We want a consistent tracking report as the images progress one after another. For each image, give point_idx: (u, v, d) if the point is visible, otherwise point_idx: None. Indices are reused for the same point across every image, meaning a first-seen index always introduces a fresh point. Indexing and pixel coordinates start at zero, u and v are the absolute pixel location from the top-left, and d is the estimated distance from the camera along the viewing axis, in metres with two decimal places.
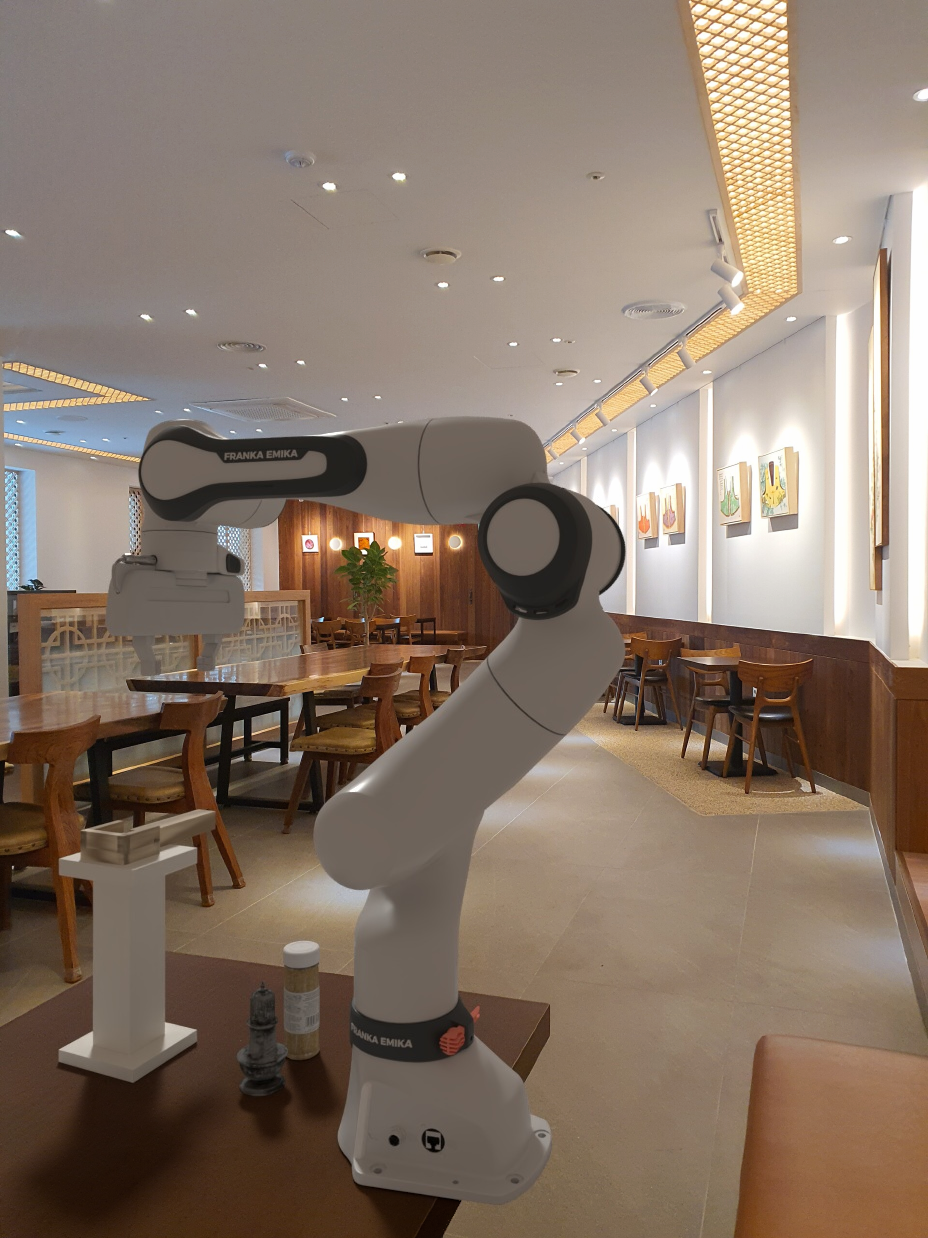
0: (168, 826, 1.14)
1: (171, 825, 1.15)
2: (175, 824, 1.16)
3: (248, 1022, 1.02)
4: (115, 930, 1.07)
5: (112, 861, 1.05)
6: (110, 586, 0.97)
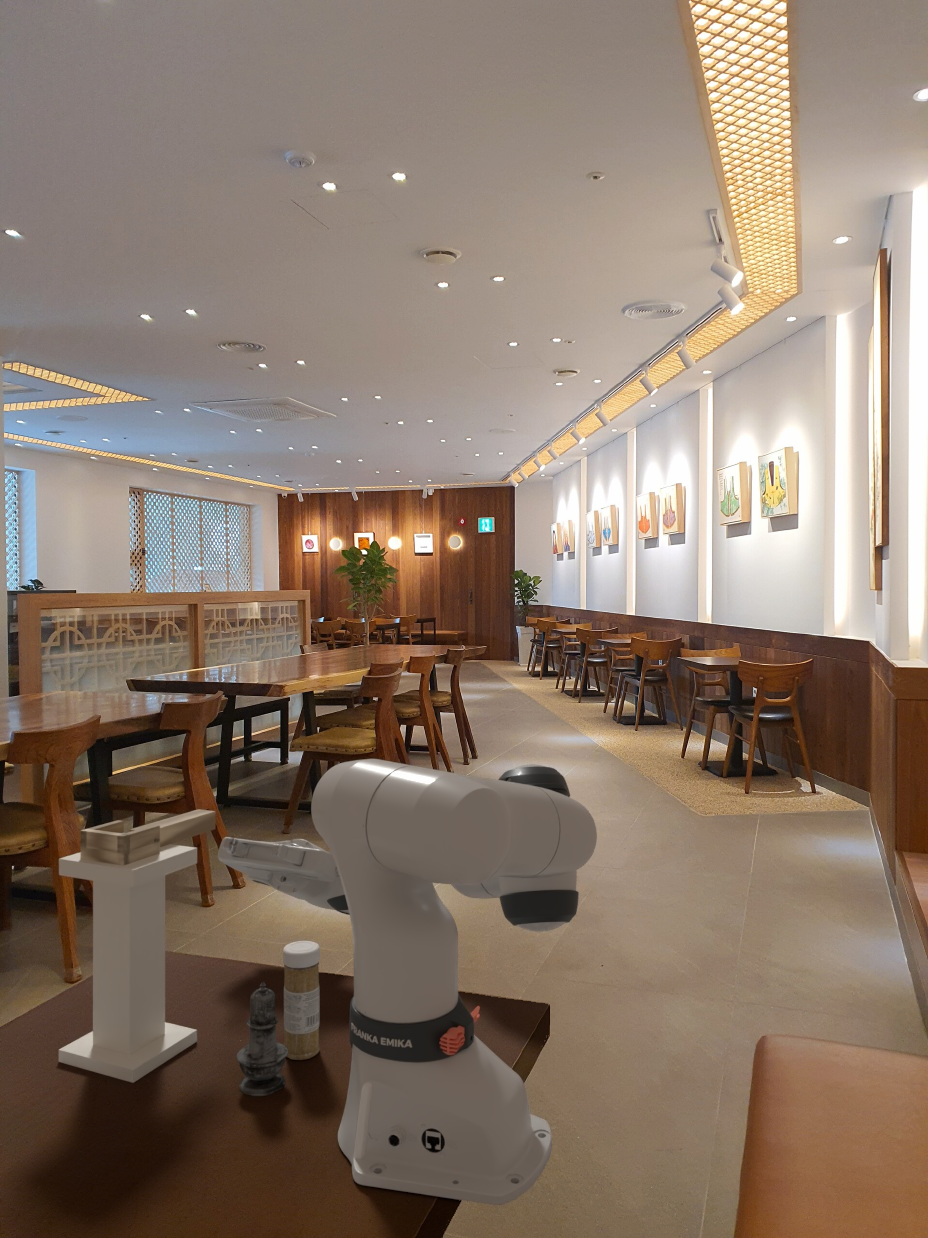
0: (168, 826, 1.14)
1: (171, 825, 1.15)
2: (175, 824, 1.16)
3: (248, 1022, 1.02)
4: (115, 930, 1.07)
5: (112, 861, 1.05)
6: None
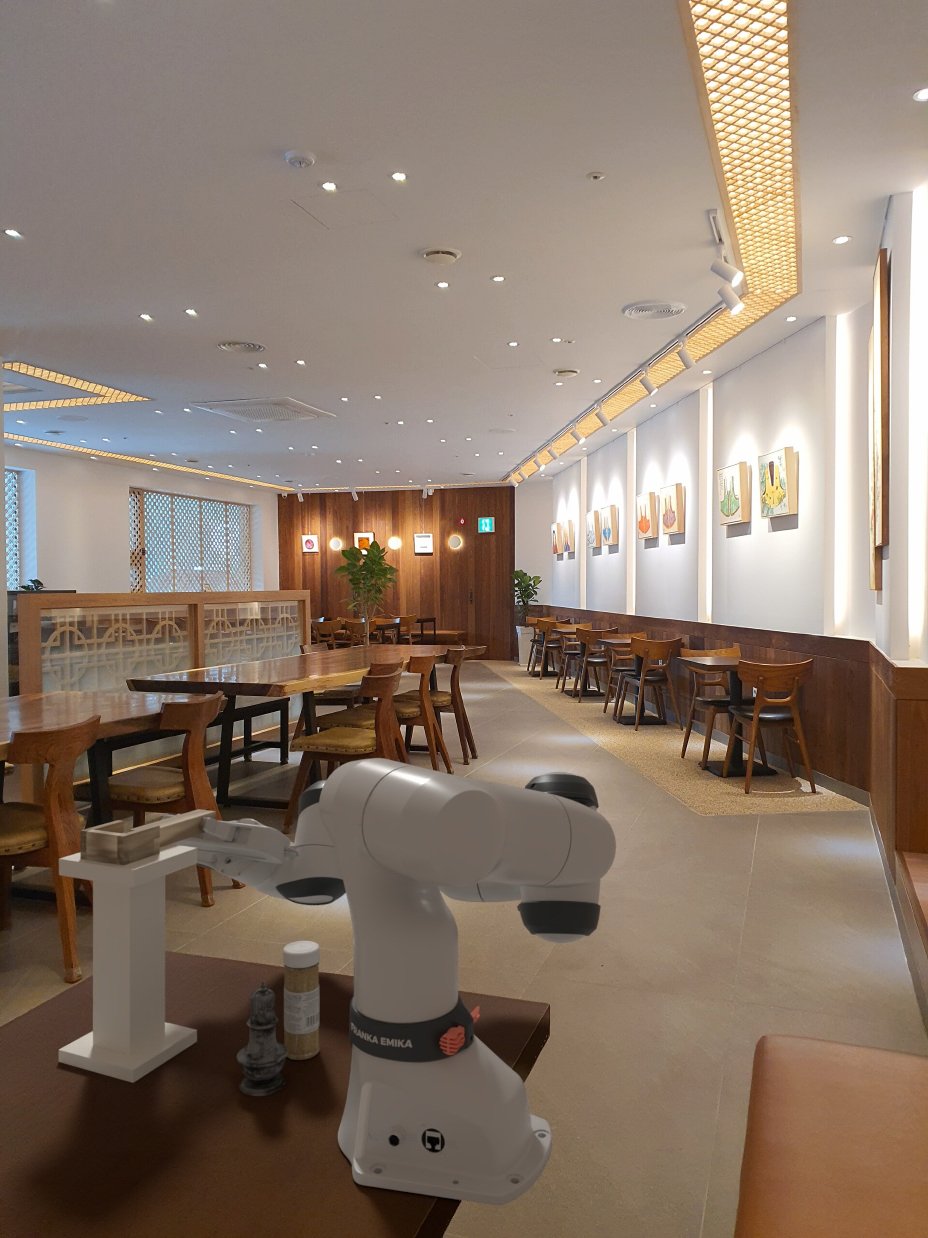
0: (168, 826, 1.14)
1: (171, 825, 1.15)
2: (175, 824, 1.16)
3: (248, 1022, 1.02)
4: (115, 930, 1.07)
5: (112, 861, 1.05)
6: (288, 841, 1.25)
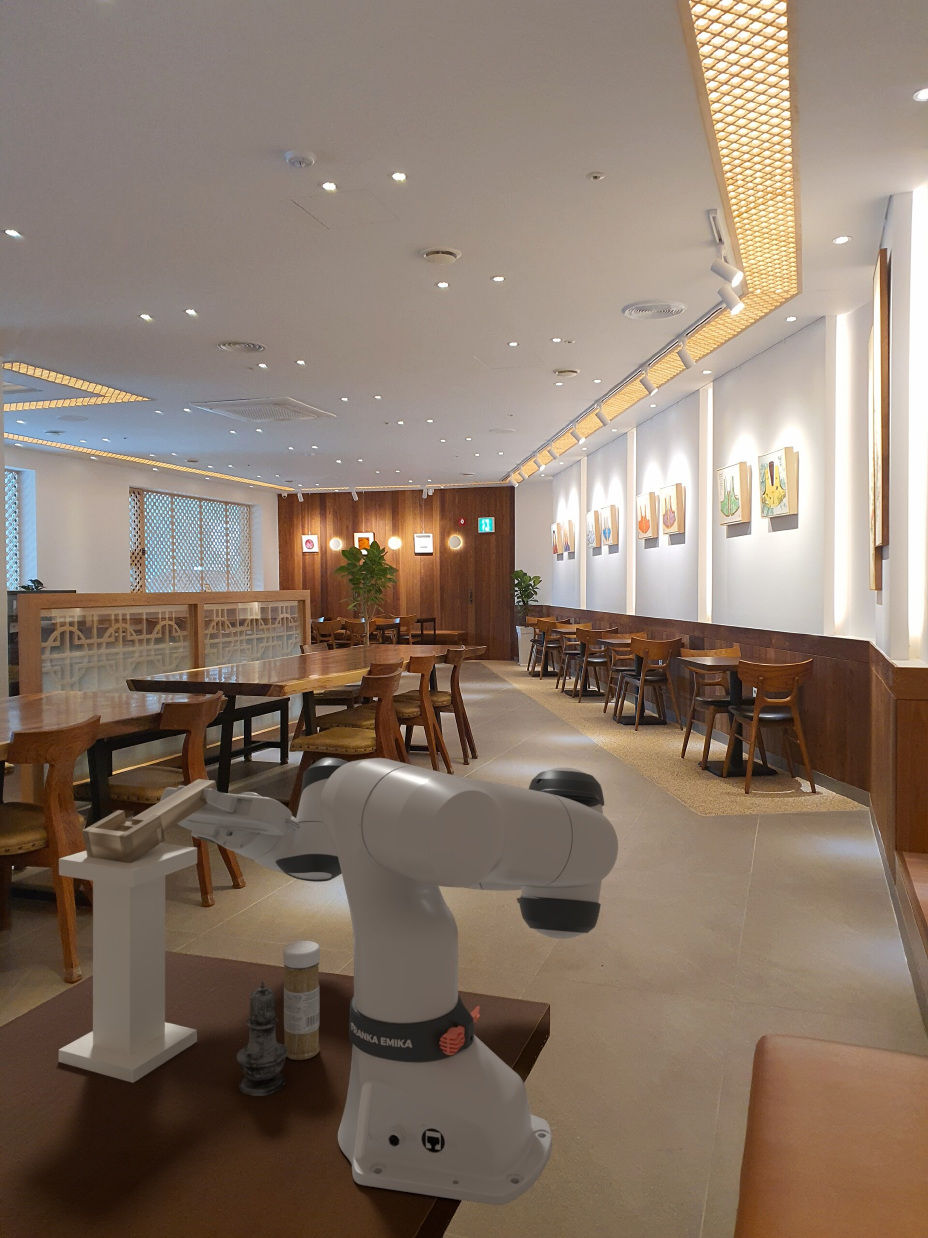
0: (169, 809, 1.15)
1: (172, 807, 1.15)
2: (176, 805, 1.16)
3: (248, 1022, 1.02)
4: (115, 930, 1.07)
5: (118, 859, 1.06)
6: (290, 813, 1.26)
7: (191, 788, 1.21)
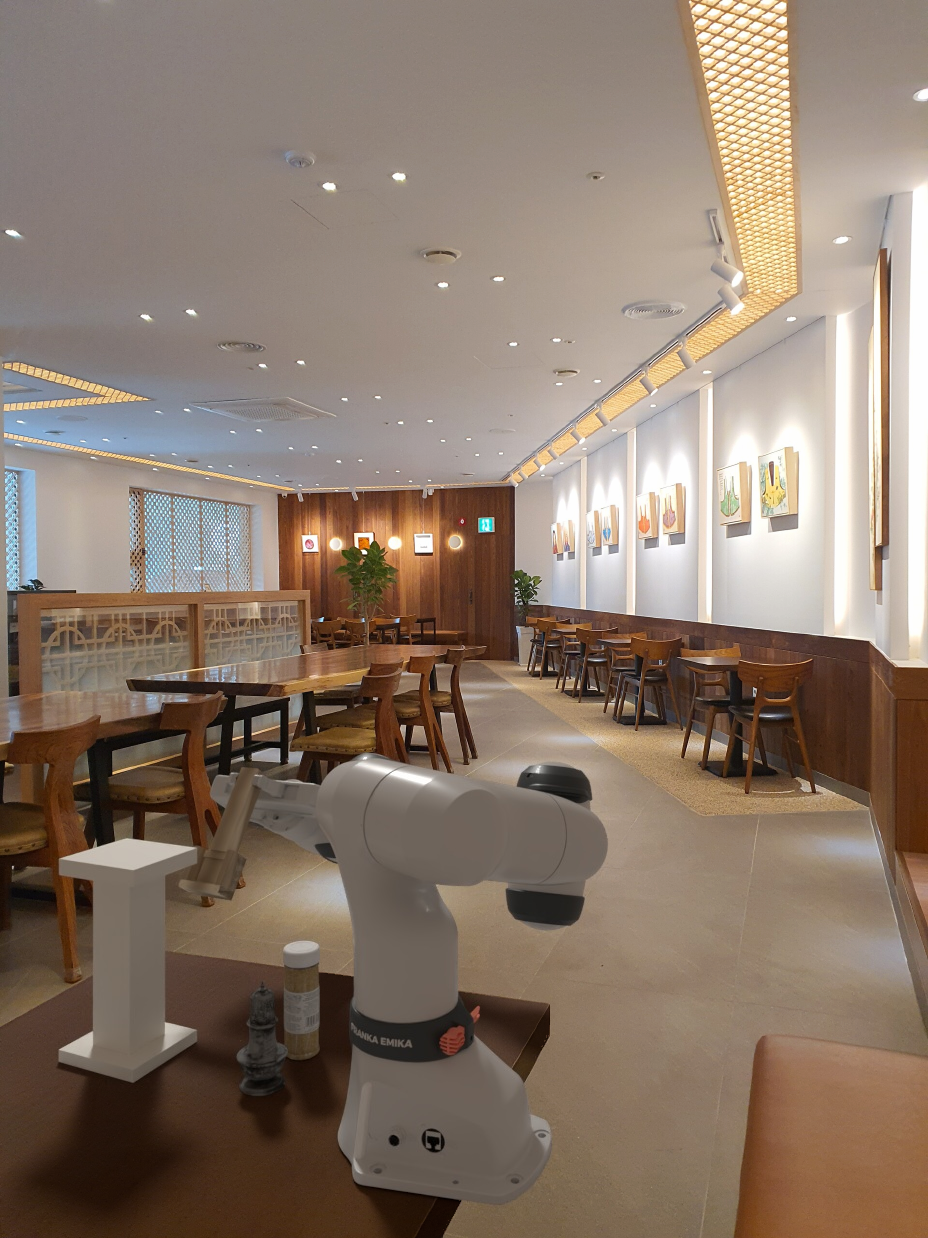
0: (235, 827, 1.27)
1: (237, 823, 1.27)
2: (239, 818, 1.28)
3: (248, 1022, 1.02)
4: (115, 930, 1.07)
5: (220, 898, 1.24)
6: None
7: (241, 786, 1.31)
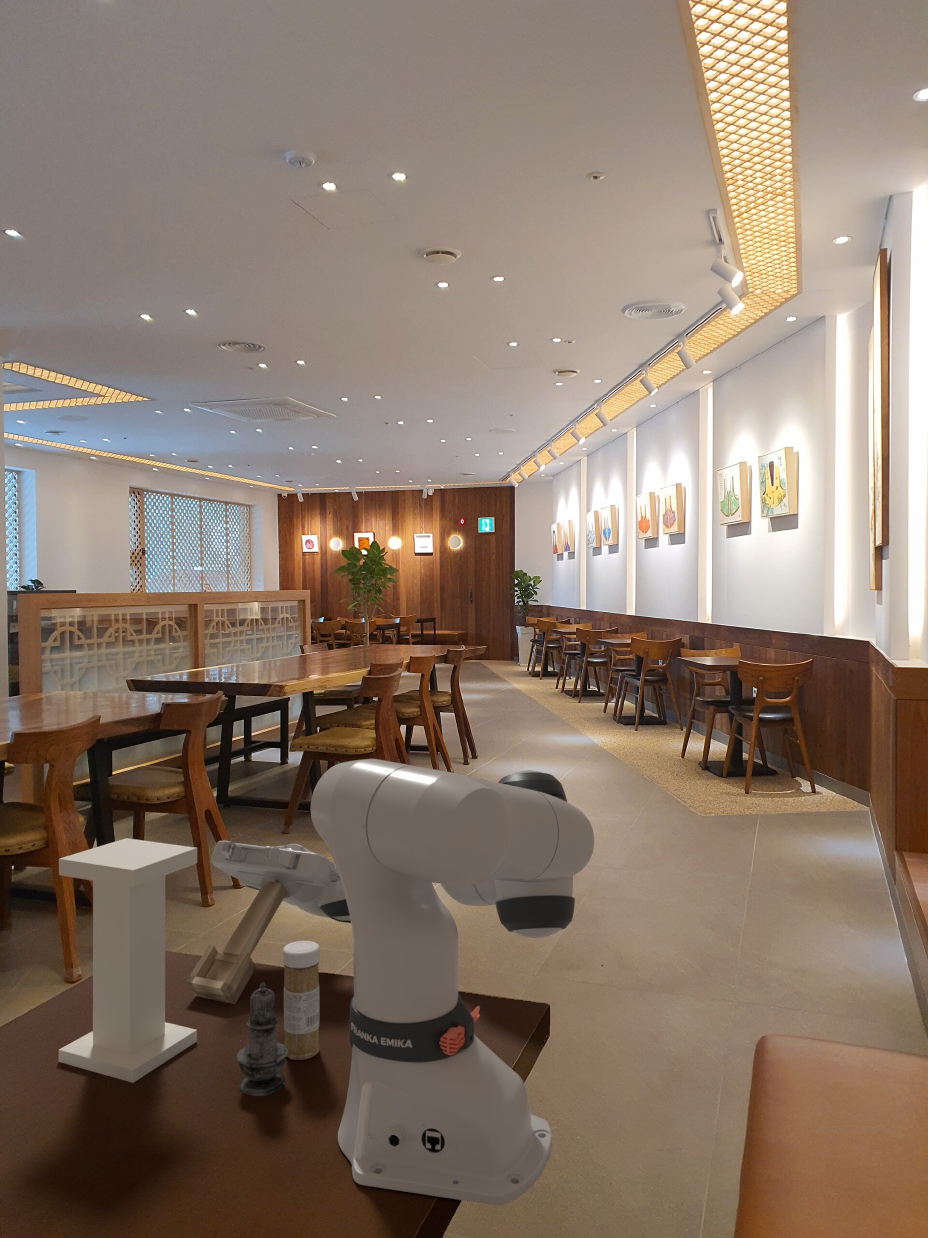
0: (252, 933, 1.31)
1: (253, 930, 1.31)
2: (256, 926, 1.32)
3: (248, 1022, 1.02)
4: (115, 930, 1.07)
5: (224, 1001, 1.24)
6: (333, 866, 1.36)
7: (263, 897, 1.36)
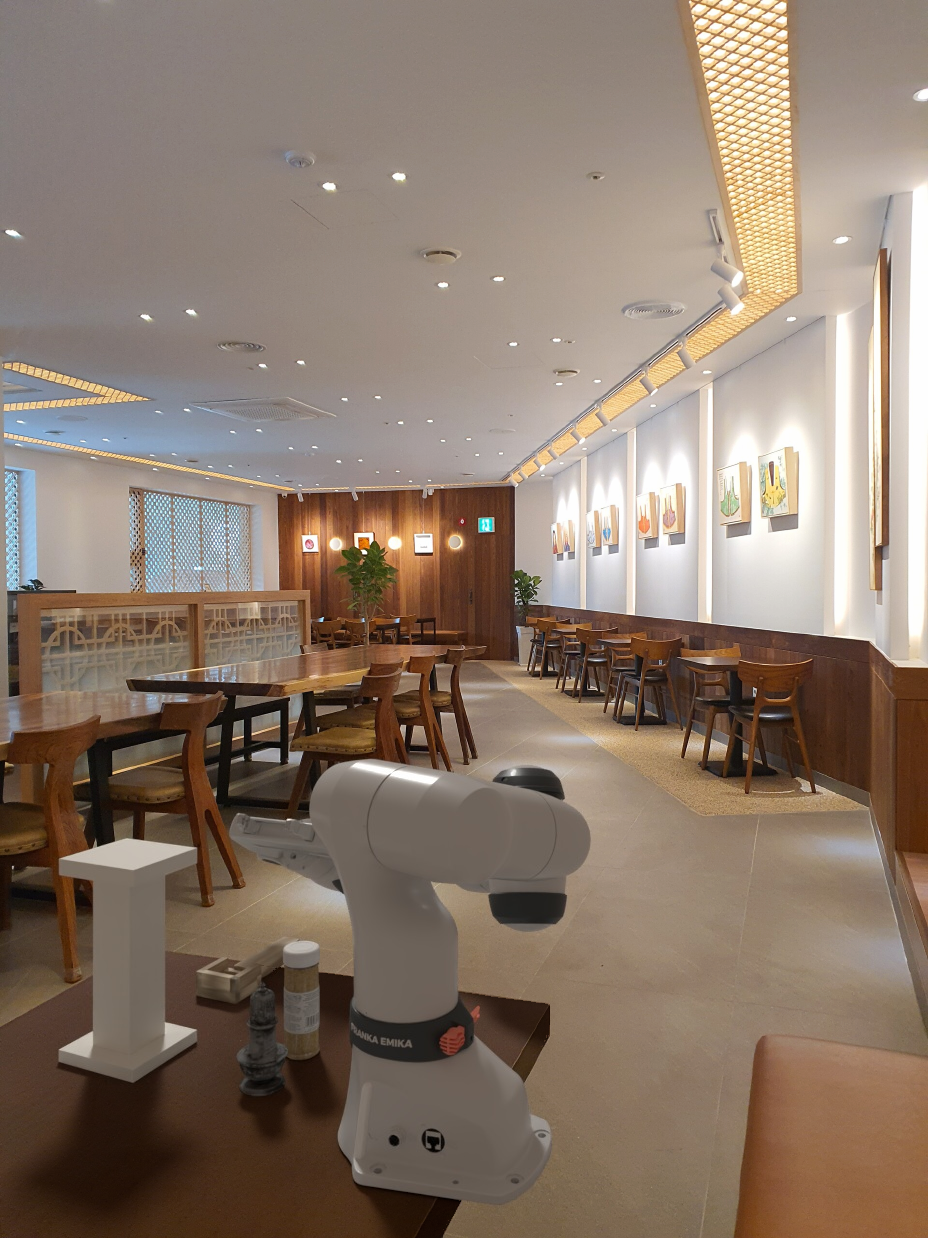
0: (265, 960, 1.34)
1: (267, 959, 1.34)
2: (270, 957, 1.35)
3: (248, 1022, 1.02)
4: (115, 930, 1.07)
5: (225, 999, 1.25)
6: None
7: (280, 944, 1.40)
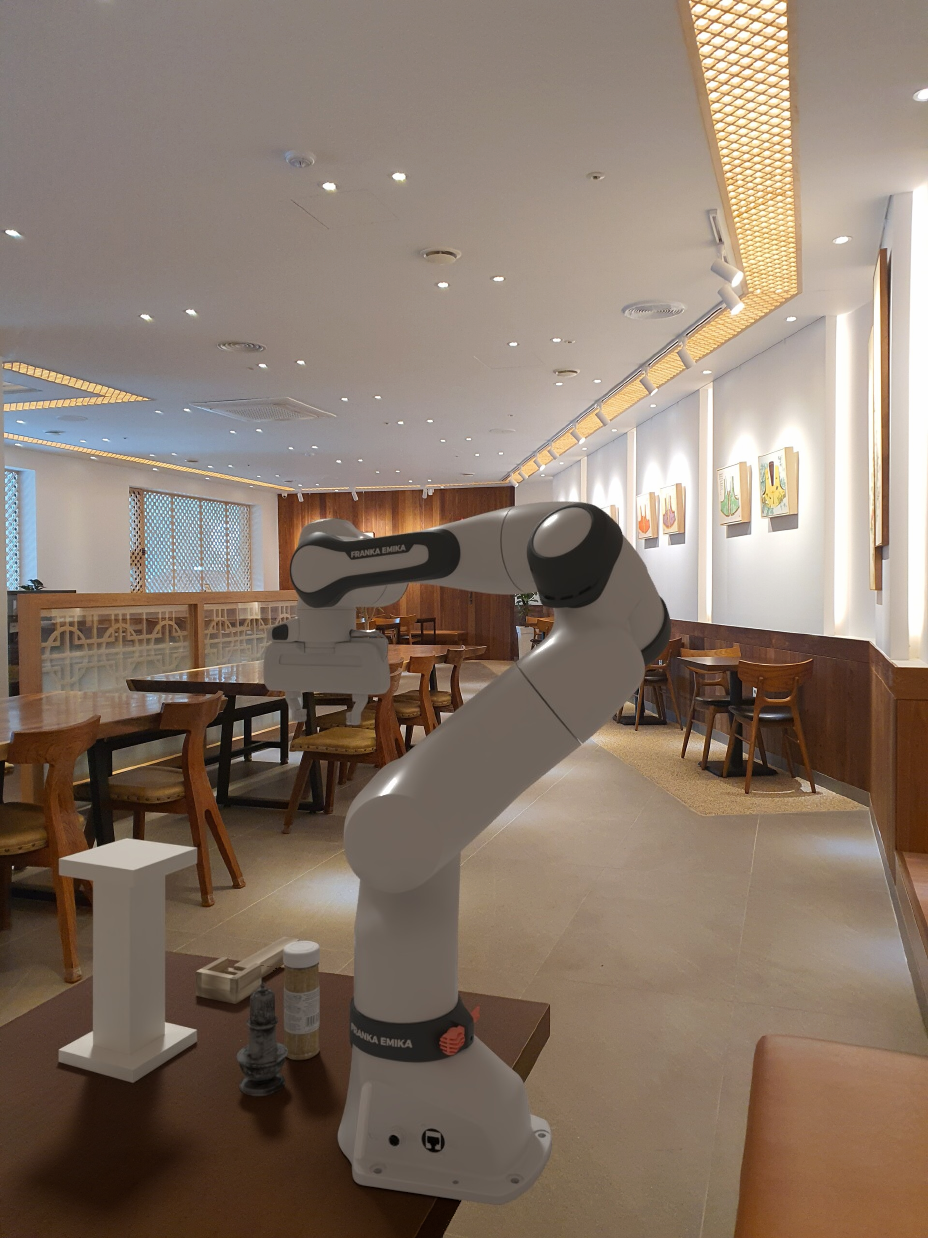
0: (265, 960, 1.34)
1: (267, 959, 1.34)
2: (270, 957, 1.35)
3: (248, 1022, 1.02)
4: (115, 930, 1.07)
5: (225, 999, 1.25)
6: (377, 656, 1.25)
7: (280, 944, 1.40)
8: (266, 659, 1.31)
